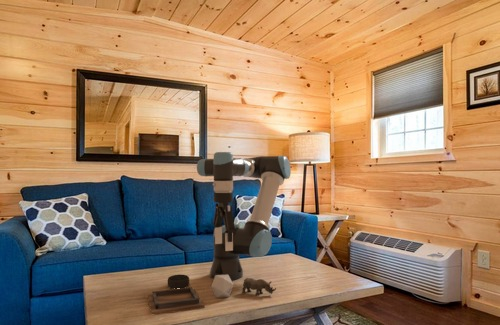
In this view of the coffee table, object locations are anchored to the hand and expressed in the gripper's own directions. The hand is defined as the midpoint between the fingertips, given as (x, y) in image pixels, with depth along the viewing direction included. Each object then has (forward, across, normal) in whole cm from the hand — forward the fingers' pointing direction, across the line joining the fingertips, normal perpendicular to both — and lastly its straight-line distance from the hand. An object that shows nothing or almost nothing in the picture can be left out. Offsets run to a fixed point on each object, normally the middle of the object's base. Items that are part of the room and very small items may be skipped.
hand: (223, 247), depth 135 cm
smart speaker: (+19, -19, -14) cm, 30 cm away
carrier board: (+19, -1, -18) cm, 26 cm away
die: (+19, 0, 0) cm, 19 cm away
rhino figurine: (+19, +3, +13) cm, 24 cm away
